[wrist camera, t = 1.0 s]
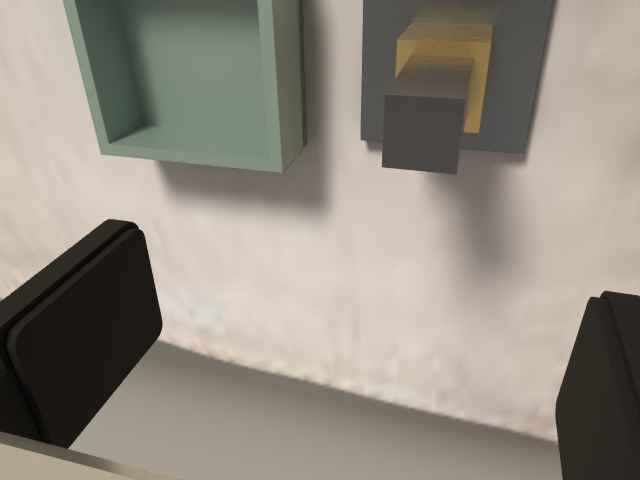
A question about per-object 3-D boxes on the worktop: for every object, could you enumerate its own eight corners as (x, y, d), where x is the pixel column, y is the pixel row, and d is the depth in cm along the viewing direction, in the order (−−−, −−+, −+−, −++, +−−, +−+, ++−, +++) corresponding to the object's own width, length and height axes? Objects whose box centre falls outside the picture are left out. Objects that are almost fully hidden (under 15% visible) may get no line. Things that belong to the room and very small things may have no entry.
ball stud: (557, -35, 27) (567, -26, 23) (522, 147, 33) (526, 183, 28) (367, -35, 30) (345, -27, 26) (363, 134, 35) (344, 165, 31)
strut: (492, 24, 29) (488, 81, 19) (481, 104, 31) (472, 192, 21) (411, 22, 30) (367, 74, 20) (406, 99, 32) (364, 180, 22)
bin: (299, -75, 30) (267, -73, 26) (306, 144, 37) (282, 172, 33) (102, -71, 33) (45, -68, 29) (142, 129, 40) (101, 154, 36)
